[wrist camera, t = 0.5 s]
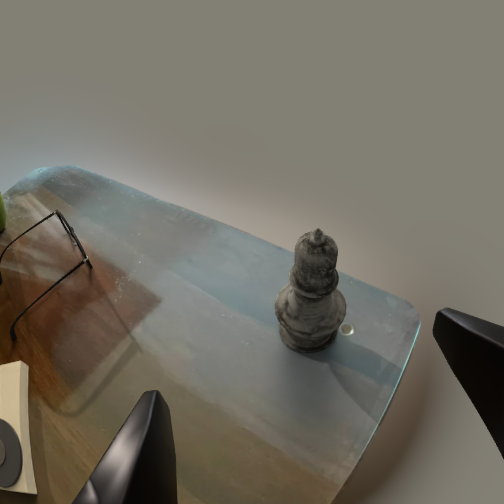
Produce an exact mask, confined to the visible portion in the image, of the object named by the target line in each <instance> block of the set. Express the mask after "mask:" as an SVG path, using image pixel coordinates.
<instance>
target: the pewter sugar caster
mask: <svg viewBox="0 0 504 504" xmlns="http://www.w3.org/2000/svg"><path fill="white" fill-rule="evenodd" d="M337 256H338V249H337V245H336V243H335V241H334V240H333V239H332V238H331V237H330V236H329V235H327V234H325V233H323V232H322V231H321V230H320V229H319V228H317V229H316V230H315V231H313V232H308V233H306V234H304V235H303V236H301V237H300V238H299V239H298V241H297V243H296V246H295V264H294V265H293V266H292V268H291V270H290V274H289V280H290V283H289V284H287V285H286V286H285V287H284V288H283V289H282V290H281V291H280V292H279V294H278V296H277V298H276V302H275V313H276V316H277V319H278V321H279V322H280V325H279V328H280V334H281V337H282V339H283V340H284V342H285V343H286V344H287V345H288V346H289V347H291V348H292V349H294V350H297V351H299V352H304V353H312V352H318V351H320V350H323V349H324V348H326V347H327V346H329V345H330V344H331V342H332V341H333V340H334V338H335V335H336V333H337V328H338V327H339V326H340V325H341V323H342V322H343V320H344V317H345V314H346V303H345V299H344V297H343V295H342V293H341V291H340V290H339V289H338V288H337V285H338V280H339V276H338V273H337V270H336V269H335V268H336V262H337Z"/></svg>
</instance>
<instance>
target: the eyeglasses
mask: <svg viewBox="0 0 504 504" xmlns="http://www.w3.org/2000/svg"><path fill="white" fill-rule="evenodd" d="M54 214H57V215H58V217H59V219H60V221H61V223H62V225H63V227H64V228H65V230H66V232H67V233H68V234H69V236H70V238H71V239H72V240H73V242H74V241H75V242H76V243H75V244H74V245H75V246H76V245H78V247H79V249H80V251H81V252H82V254H83V256H84V257H85V259H84V260H83V261H81V262H80V263H79V264H78V265H76V266H75V267H74V268H73V269H72V270H70V271H69V272H68V273H67V274H65V275H64V276H63V277H62V278H61V279H59V280H58V281H57V282H56V283H55V284H54V285H52V286H51V287H50V288H49V289H48V290H47V291H45V292H44V293H43V294H42V295H41V296H40V297H39V298H37V299H36V300H35V301H34V302H33V303H32V304H31V305H30V306H29V307H27V308H26V309H25V310H24V311H23V312H22V313H21V314H20V315H19V316H18V318H17V319H16V320H15V321H14V323H13V324H12V326H11V329H10V336H11V340H12V341H14V340H16V339H17V337H16V335H15V331H14V326H15V324H16V322H17V321H18V319H19V318H20V317H21V316H22V315H23V314H24V313H25V312H26V311H27V310H28V309H29V308H30V307H31V306H32V305H33V304H34V303H35V302H37V301H38V300H39V299H40V298H41V297H43V296H44V295H45V294H46V293H47V292H48V291H50V290H51V289H52V288H53V287H55V286H56V285H57V284H58V283H60V282H61V281H62V280H63V279H65V278H66V277H67V276H68V275H70V274H71V273H72V272H73V271H75V270H76V269H77V268H79V267H80V266H81V265H82V264H84V263H85V262H86V261H87V263H88V265H89V266H90V268H91V269H92V268H93V267H92V265H91V263H90V261H89V260H88V256H87V255H86V254H85V252H84V250H83V248H82V246H81V244H80V242H79V240H78V238H77V236H76V235H75V233H74V230H73V228H72V227H70V226H69V224H68V223H67V221H66V220H65V218H64V217H63V215H62V214H61V213H60V212H59V211H58V210H55V212H53V213H52V214H50V215H49V216H47V217H46V218H44V219H43V220H41V221H40V222H38V223H37V224H35V225H34V226H33V227H31V228H30V229H28V230H27V231H25V232H24V233H23V234H21V235H20V236H19V237H17V238H16V239H15V240H14V241H16V240H17V239H18V238H20V237H21V236H22V235H24V234H25V233H27V232H28V231H30V230H31V229H32V228H34V227H36V226H37V225H39V224H40V223H42V222H43V221H45V220H46V219H48V218H50V217H51V216H53V215H54ZM61 218H62V219H63V221H64V222H65V224H66V225H67V227H68V229H69V231H70V232H69V231H68V230H67V228H66V226H65V225H64V223H63V221H62V219H61ZM70 233H71V234H70ZM14 241H12V242H11V243H10V244H9V245H8V246H7V247H6V249H7V248H8V247H9V246H10V245H11V244H12V243H13V242H14ZM6 249H5V250H4V251H3V253H2V255H1V257H0V262H1V258H2V256H3V254H4V252H5V251H6ZM1 283H2V277H1V272H0V285H1Z"/></svg>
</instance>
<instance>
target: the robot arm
mask: <svg viewBox="0 0 504 504" xmlns="http://www.w3.org/2000/svg"><path fill="white" fill-rule="evenodd" d="M433 336H434V338H435V340H436V341H437V343H438V345H439V347H440V349H441V351H442V353H443V354H444V356H445V358H446V360H447V362H448V364H449V366H450V368H451V369H452V371H453V373H454V374H455V376H456V377H457V379H458V380H459V382H460V384H461V385H462V387H463V388H464V390H465V392H466V393H467V395H468V396H469V398H470V399H471V401H472V403H473V404H474V406H475V408H476V410H477V411H478V413H479V415H480V416H481V418H482V420H483V422H484V423H485V425H486V427H487V429H488V430H489V432H490V434H491V436H492V438H493V440H494V441H495V443H496V445H497V447H498V449H499V451H500V453H501V454H502V457H503V459H504V327H503V326H500V325H497V324H494V323H491V322H488V321H486V320H483V319H480V318H477V317H474V316H471V315H468V314H465V313H462V312H459V311H457V310H454V309H451V308H444V309H442V310H439V311H438V312H437V313H436V317H435V322H434V326H433ZM89 478H90V479H88V480H87V481H86V483H85V485H84V486H83V488H82V489H81V491H80V492H79V494H78V495H77V497H76V498H75V500H74V501H73V502H72V504H178V501H177V479H176V454H175V447H174V440H173V432H172V424H171V416H170V410H169V407H168V405H167V403H166V402H165V400H164V398H163V397H162V395H161V393H160V392H159V391H158V390H152V391H146V392H144V393H143V395H142V396H141V398H140V399H139V401H138V402H137V404H136V405H135V407H134V408H133V410H132V412H131V413H130V415H129V416H128V418H127V419H126V421H125V422H124V424H123V425H122V427H121V428H120V430H119V432H118V433H117V435H116V436H115V438H114V439H113V441H112V442H111V444H110V446H109V447H108V449H107V450H106V452H105V453H104V455H103V456H102V458H101V460H100V461H99V463H98V464H97V466H96V467H95V469H94V471H93V472H92V474H91V475H90V477H89Z"/></svg>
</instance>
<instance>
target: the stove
mask: <svg viewBox="0 0 504 504" xmlns="http://www.w3.org/2000/svg"><path fill="white" fill-rule="evenodd" d="M0 489H1V490H7V491H13V492H20V493H28V494H37V489H36V484H35V478H34V471H33V464H32V456H31V447H30V435H29V419H28V366H27V365H26V364H25V363H23V362H22V361H17V362H13V363H9V364H4V365H0Z"/></svg>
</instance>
